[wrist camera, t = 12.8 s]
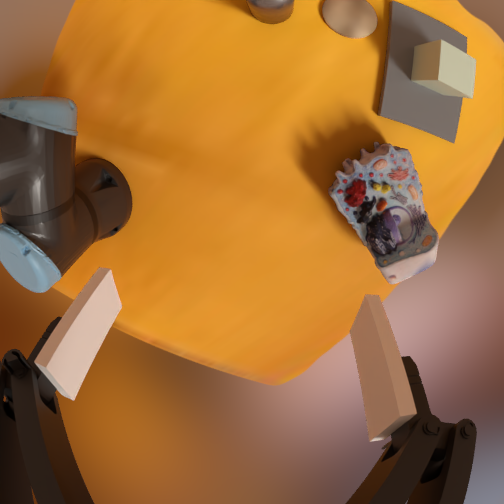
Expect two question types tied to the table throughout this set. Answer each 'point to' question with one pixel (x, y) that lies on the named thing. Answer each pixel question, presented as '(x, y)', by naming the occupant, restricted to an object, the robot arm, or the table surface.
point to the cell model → (387, 210)
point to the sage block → (444, 69)
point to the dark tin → (271, 10)
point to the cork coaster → (350, 17)
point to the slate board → (400, 71)
